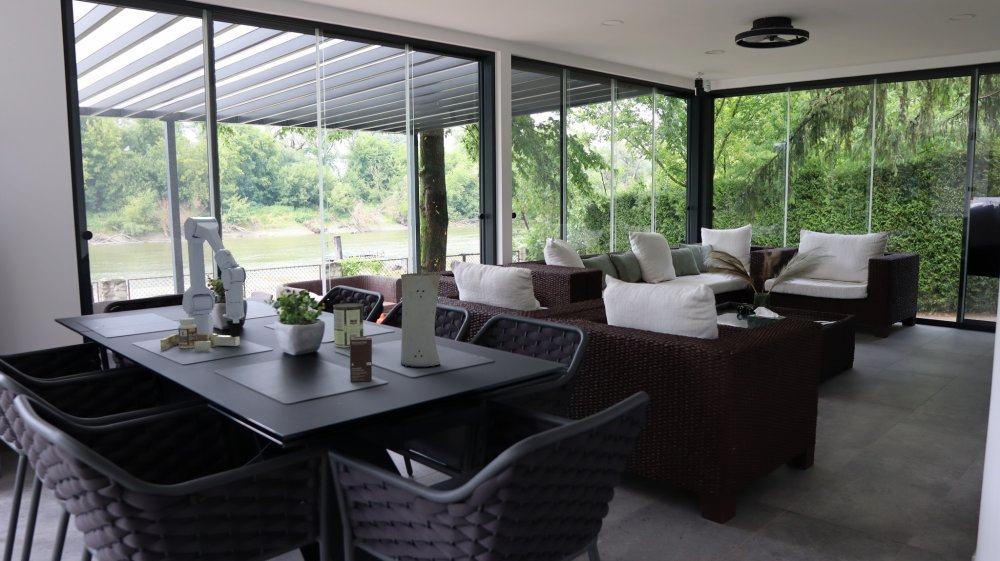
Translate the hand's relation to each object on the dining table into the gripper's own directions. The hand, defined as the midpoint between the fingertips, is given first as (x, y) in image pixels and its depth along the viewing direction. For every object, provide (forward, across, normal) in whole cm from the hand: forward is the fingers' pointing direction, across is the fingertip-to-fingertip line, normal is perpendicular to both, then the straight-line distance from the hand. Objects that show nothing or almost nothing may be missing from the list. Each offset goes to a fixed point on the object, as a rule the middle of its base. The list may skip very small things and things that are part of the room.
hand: (235, 340), depth 252 cm
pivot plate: (+2, -2, -7) cm, 7 cm away
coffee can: (+2, +13, +36) cm, 39 cm away
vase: (+2, +51, +52) cm, 73 cm away
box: (+2, +66, +30) cm, 72 cm away
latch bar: (+1, 0, -4) cm, 4 cm away
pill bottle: (+2, -1, -15) cm, 15 cm away
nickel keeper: (+1, +6, -10) cm, 12 cm away
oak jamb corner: (+1, -2, -16) cm, 17 cm away
